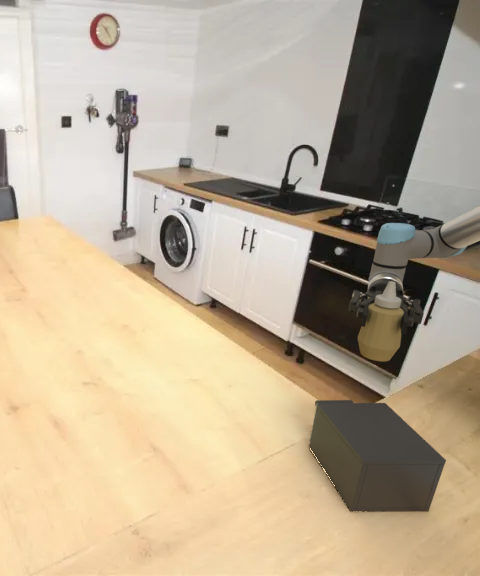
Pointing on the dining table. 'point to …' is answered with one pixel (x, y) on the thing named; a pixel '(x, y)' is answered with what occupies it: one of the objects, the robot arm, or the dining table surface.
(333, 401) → the drawer
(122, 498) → the dining table surface
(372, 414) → the cabinet
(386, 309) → the squeeze bottle
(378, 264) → the robot arm
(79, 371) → the dining table surface
